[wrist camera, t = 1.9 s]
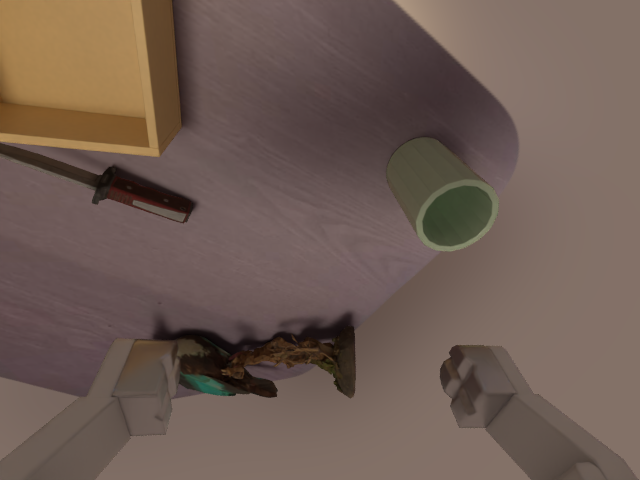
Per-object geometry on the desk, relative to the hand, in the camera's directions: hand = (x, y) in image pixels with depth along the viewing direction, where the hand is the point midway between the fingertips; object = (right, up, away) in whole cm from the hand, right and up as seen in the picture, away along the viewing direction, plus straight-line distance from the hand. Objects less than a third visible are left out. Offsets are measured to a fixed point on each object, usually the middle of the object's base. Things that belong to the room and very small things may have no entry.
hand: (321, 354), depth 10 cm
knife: (-19, +10, +20) cm, 29 cm away
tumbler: (+9, +10, +23) cm, 27 cm away
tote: (-17, +18, +14) cm, 29 cm away
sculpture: (+4, -11, +31) cm, 33 cm away
